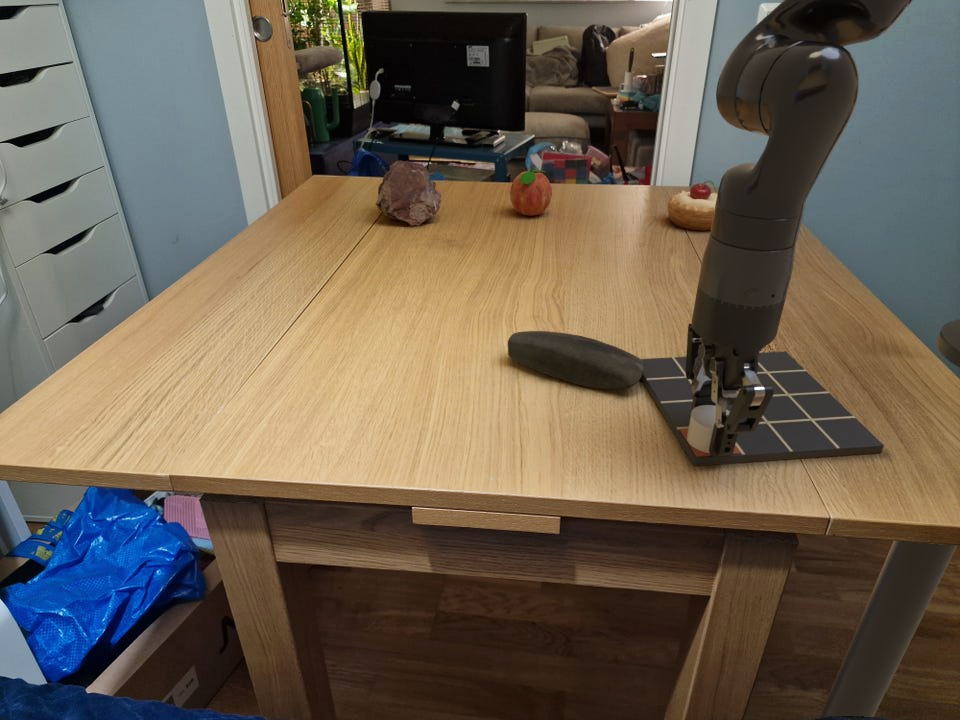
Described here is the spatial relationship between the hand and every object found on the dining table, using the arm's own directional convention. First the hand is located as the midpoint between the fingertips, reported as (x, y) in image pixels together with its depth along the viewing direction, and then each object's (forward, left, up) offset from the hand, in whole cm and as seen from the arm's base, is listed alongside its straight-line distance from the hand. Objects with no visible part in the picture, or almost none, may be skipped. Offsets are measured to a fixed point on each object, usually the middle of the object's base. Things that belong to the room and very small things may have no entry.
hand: (709, 438), depth 68 cm
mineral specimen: (+29, -83, -2) cm, 88 cm away
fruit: (+4, -82, -2) cm, 82 cm away
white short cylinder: (0, 0, 0) cm, 0 cm away
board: (-8, -8, -1) cm, 11 cm away
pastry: (-28, -72, -2) cm, 77 cm away
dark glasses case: (+10, -17, -2) cm, 20 cm away
